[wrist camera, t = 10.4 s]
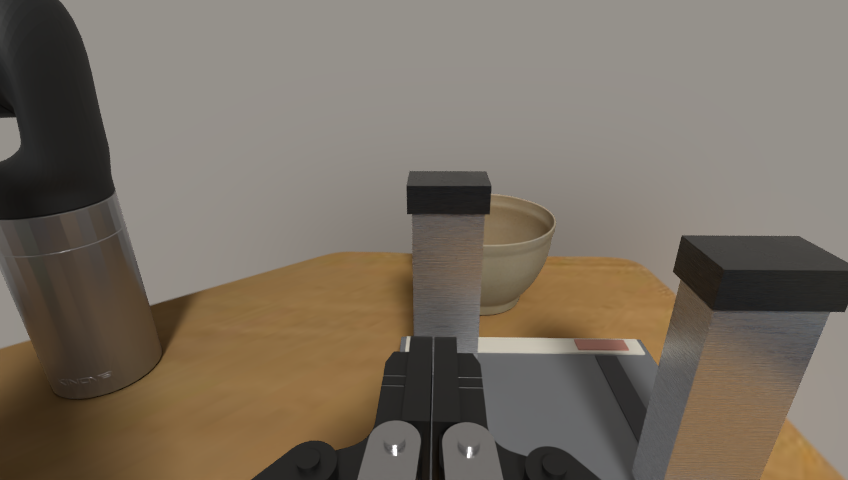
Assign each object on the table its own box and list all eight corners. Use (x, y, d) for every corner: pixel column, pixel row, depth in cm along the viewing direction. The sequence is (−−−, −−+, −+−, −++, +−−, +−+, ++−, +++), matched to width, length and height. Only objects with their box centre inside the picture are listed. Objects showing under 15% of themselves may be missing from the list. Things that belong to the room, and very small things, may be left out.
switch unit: (775, 619, 25) (801, 570, 23) (377, 608, 25) (373, 559, 24) (632, 374, 43) (640, 336, 41) (402, 370, 44) (401, 333, 42)
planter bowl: (395, 282, 60) (392, 204, 56) (496, 258, 66) (501, 187, 62) (455, 350, 47) (458, 255, 42) (574, 311, 53) (587, 226, 49)
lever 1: (480, 378, 36) (491, 185, 30) (410, 377, 36) (406, 185, 30) (476, 349, 40) (486, 171, 33) (412, 349, 40) (409, 171, 33)
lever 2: (751, 526, 25) (862, 270, 19) (649, 523, 25) (724, 269, 19) (714, 469, 28) (798, 236, 22) (624, 467, 29) (681, 235, 22)
